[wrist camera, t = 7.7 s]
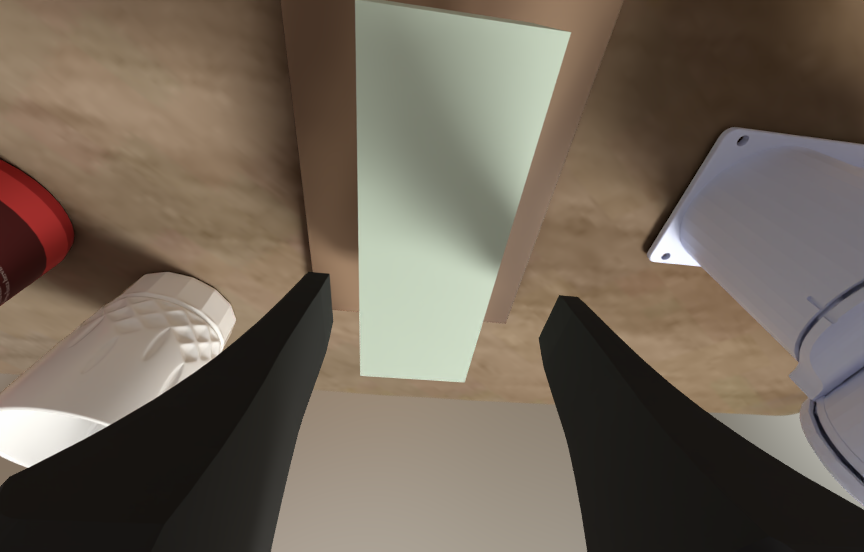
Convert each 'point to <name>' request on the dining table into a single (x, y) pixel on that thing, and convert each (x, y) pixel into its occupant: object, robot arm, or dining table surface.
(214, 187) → the dining table surface
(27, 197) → the canned food
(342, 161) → the peg base
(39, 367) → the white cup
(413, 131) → the pale green rectangular block
